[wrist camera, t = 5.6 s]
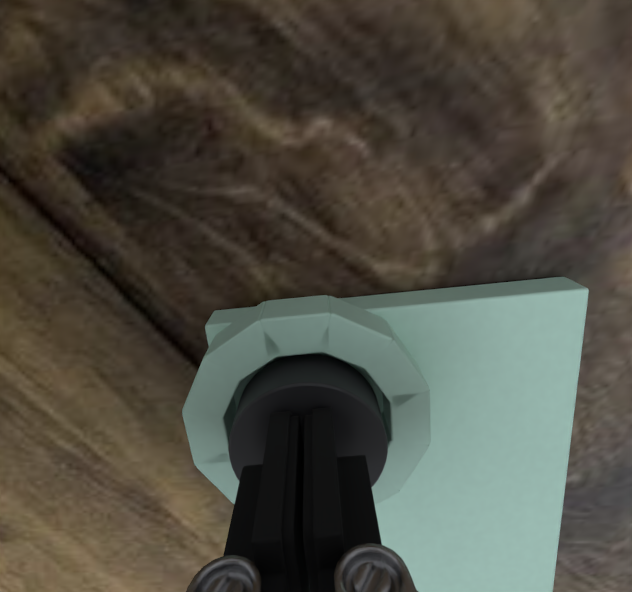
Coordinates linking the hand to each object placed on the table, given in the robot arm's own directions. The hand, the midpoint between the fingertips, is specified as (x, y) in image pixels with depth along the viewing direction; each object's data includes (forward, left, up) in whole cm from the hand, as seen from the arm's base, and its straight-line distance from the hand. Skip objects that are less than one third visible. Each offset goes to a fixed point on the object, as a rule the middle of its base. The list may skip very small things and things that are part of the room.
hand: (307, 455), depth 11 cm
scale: (+4, +3, -4) cm, 6 cm away
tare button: (0, 0, -2) cm, 2 cm away
